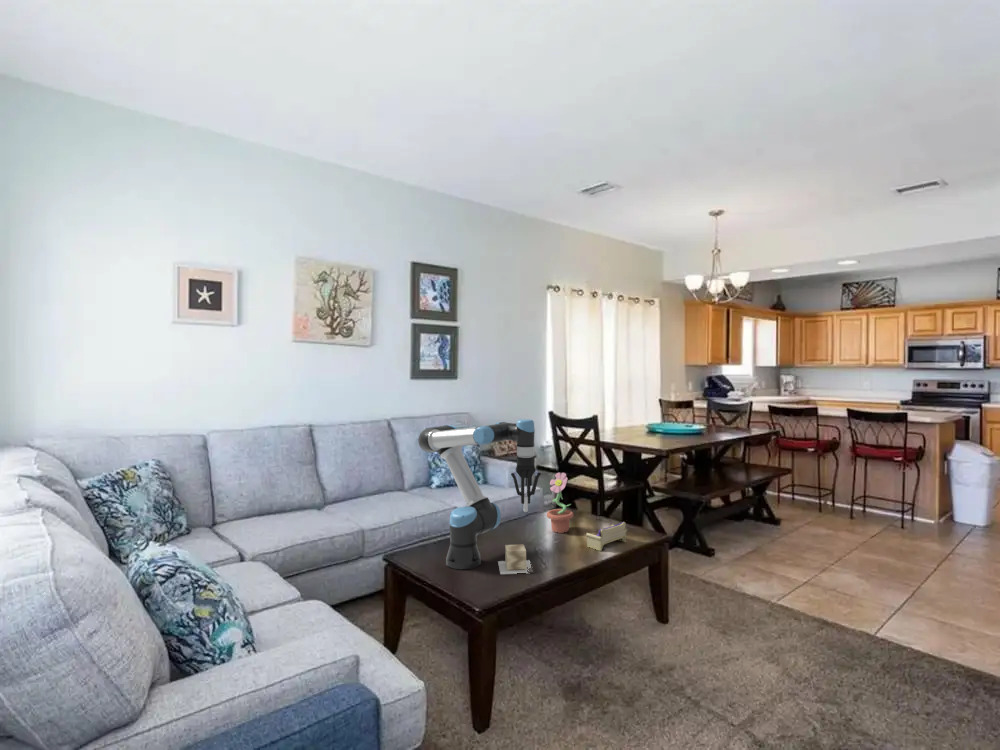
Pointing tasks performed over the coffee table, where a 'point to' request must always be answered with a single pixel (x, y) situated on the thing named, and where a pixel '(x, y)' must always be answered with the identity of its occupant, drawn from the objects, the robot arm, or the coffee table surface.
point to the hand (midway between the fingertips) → (525, 511)
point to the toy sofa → (607, 536)
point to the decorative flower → (560, 515)
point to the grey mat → (504, 570)
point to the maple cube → (515, 557)
